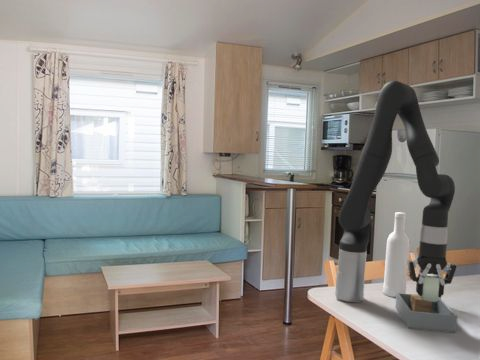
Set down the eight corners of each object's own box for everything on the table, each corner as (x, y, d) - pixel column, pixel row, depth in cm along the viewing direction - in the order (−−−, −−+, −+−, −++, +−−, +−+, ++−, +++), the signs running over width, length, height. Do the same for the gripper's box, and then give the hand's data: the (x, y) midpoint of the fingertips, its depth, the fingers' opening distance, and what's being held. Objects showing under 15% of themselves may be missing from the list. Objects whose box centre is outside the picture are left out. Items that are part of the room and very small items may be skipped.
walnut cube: (409, 308, 145) (411, 293, 145) (425, 310, 145) (426, 295, 144) (414, 314, 140) (415, 299, 140) (430, 315, 140) (431, 300, 139)
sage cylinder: (423, 300, 132) (425, 278, 132) (418, 295, 137) (419, 273, 137) (440, 302, 132) (442, 279, 131) (434, 296, 137) (436, 274, 136)
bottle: (408, 298, 157) (415, 215, 155) (386, 297, 157) (393, 213, 155) (401, 291, 165) (407, 211, 163) (380, 290, 165) (386, 210, 163)
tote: (408, 328, 130) (409, 311, 130) (395, 307, 147) (396, 292, 147) (455, 332, 129) (456, 316, 128) (436, 311, 146) (438, 296, 145)
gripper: (453, 239, 136) (449, 293, 137) (405, 236, 138) (401, 290, 139) (463, 244, 129) (458, 301, 130) (411, 241, 130) (408, 297, 132)
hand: (429, 295), depth 135 cm, fingers closed on sage cylinder, 5 cm apart
